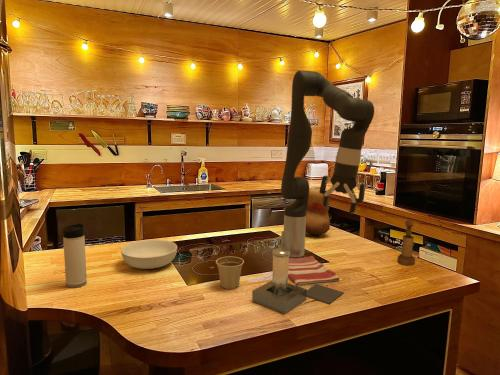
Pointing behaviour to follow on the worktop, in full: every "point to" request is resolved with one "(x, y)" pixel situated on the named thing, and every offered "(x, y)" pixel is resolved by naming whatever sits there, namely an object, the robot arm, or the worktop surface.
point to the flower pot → (229, 271)
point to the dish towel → (309, 272)
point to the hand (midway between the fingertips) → (338, 210)
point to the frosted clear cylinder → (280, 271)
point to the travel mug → (74, 255)
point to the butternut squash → (317, 213)
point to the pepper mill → (407, 246)
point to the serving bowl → (149, 253)
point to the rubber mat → (323, 293)
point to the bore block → (279, 297)
